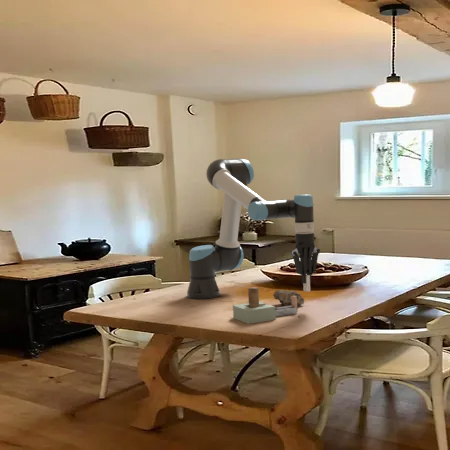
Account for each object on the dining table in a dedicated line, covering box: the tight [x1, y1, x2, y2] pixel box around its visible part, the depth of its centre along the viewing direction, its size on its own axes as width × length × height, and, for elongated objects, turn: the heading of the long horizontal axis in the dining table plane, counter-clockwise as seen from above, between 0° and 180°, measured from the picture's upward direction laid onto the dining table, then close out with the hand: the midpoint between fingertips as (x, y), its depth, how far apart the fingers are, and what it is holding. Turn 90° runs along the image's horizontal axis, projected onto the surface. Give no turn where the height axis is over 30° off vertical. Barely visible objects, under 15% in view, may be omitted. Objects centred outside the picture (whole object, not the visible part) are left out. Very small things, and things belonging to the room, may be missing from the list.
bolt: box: [275, 296, 298, 310], centre depth 245 cm, size 2×9×6 cm, turn 117°
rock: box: [272, 289, 305, 307], centre depth 261 cm, size 7×11×10 cm
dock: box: [232, 301, 276, 325], centre depth 238 cm, size 12×12×5 cm
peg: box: [247, 286, 260, 308], centre depth 238 cm, size 4×4×12 cm
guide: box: [275, 305, 298, 318], centre depth 244 cm, size 5×12×2 cm, turn 117°
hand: (306, 290), depth 248 cm, fingers closed
